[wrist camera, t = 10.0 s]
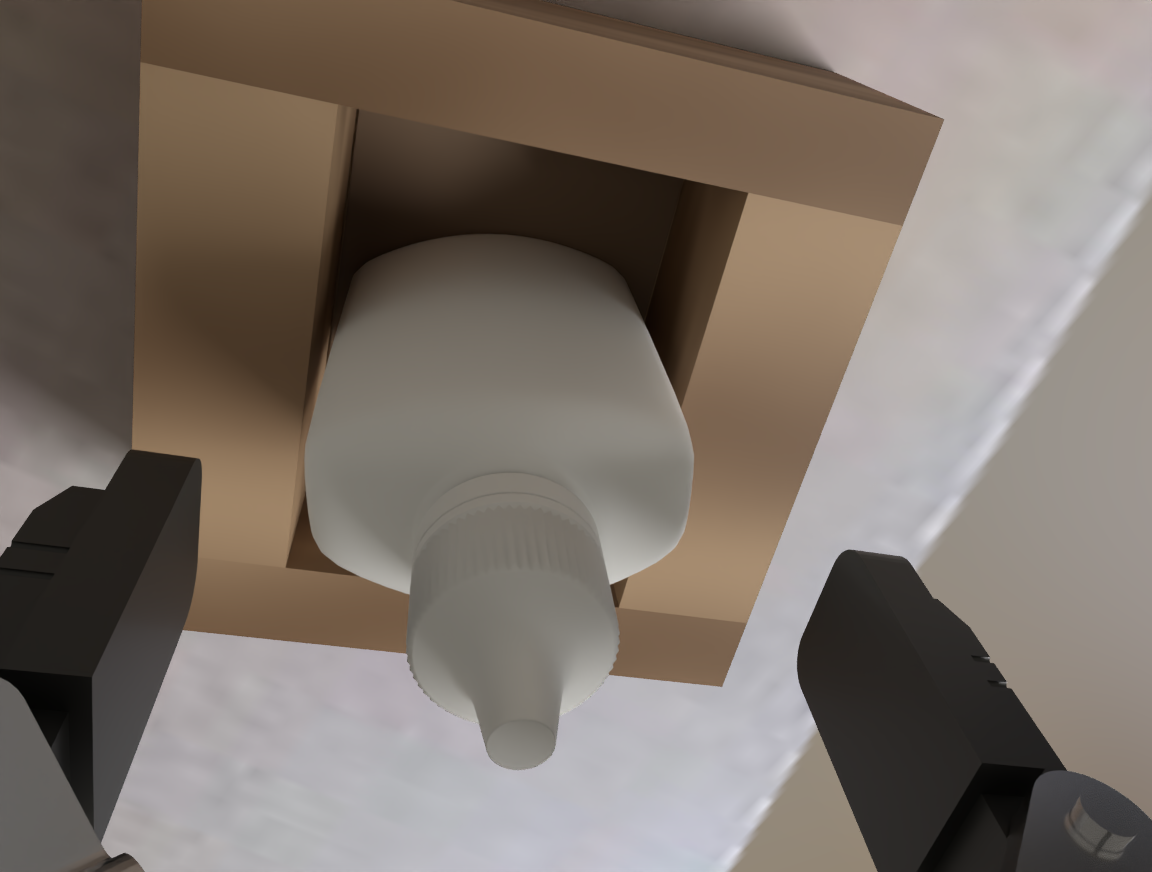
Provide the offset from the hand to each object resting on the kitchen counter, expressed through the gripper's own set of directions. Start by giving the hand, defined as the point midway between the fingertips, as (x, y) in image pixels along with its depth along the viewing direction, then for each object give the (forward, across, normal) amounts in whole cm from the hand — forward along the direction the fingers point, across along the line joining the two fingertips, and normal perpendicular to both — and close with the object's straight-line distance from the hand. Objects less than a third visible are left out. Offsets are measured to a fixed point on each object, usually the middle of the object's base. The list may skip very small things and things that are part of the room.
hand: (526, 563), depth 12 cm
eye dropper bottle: (+9, 0, 0) cm, 9 cm away
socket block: (+10, 0, 0) cm, 10 cm away
